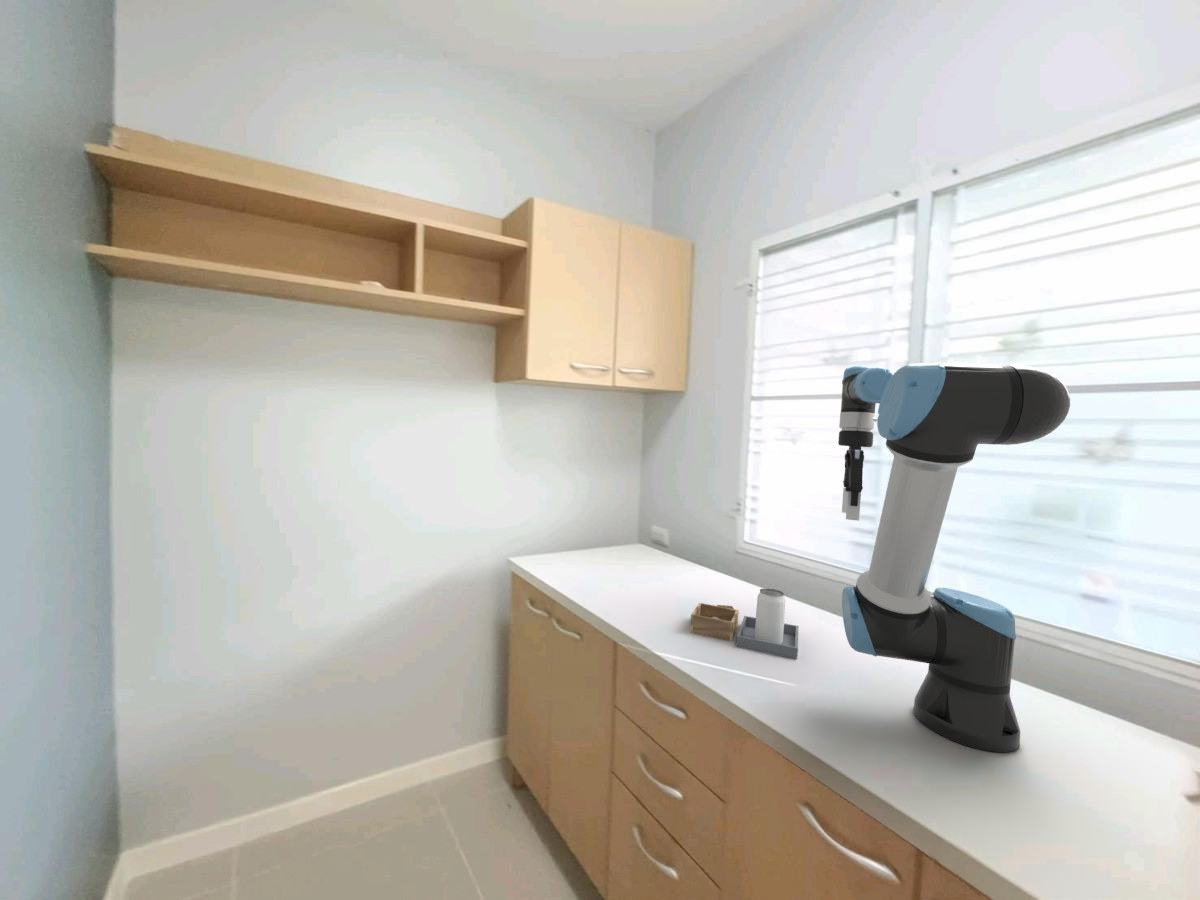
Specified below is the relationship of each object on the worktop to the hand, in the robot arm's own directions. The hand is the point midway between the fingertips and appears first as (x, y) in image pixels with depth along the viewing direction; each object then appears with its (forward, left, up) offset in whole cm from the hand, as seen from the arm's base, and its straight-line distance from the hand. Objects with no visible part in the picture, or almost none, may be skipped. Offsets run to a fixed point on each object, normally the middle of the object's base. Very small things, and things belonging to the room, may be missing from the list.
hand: (849, 516), depth 121 cm
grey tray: (-10, +17, -32) cm, 37 cm away
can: (-10, +16, -31) cm, 37 cm away
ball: (-10, +30, -31) cm, 44 cm away
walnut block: (-1, +28, -32) cm, 42 cm away
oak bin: (-10, +30, -32) cm, 44 cm away
